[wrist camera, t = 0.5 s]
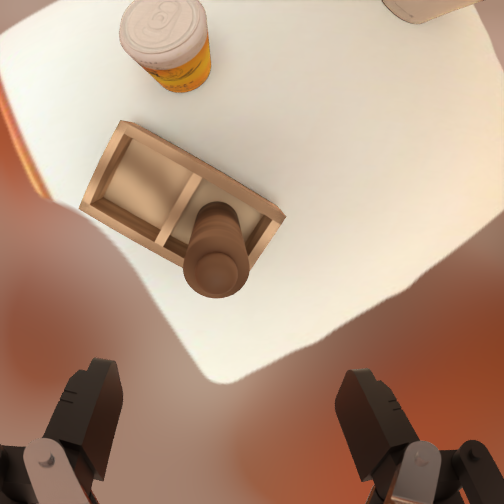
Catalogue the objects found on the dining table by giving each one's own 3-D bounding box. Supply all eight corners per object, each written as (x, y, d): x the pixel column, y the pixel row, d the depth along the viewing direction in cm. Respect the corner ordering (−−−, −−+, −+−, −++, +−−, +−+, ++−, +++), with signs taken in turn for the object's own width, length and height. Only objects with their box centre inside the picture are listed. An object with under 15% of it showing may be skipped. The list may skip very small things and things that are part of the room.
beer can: (147, 81, 28) (98, 44, 14) (173, 37, 27) (146, -25, 13) (194, 102, 30) (175, 71, 16) (221, 56, 28) (223, -1, 14)
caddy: (134, 122, 30) (68, 111, 15) (277, 206, 35) (321, 257, 20) (95, 199, 32) (20, 243, 17) (231, 275, 37) (241, 362, 22)
